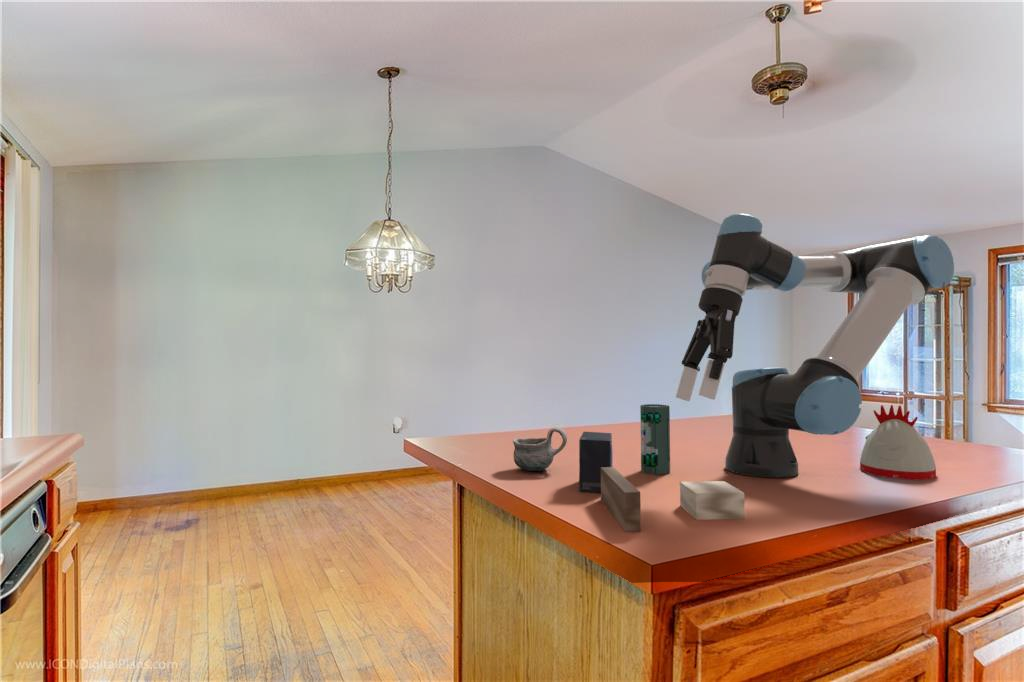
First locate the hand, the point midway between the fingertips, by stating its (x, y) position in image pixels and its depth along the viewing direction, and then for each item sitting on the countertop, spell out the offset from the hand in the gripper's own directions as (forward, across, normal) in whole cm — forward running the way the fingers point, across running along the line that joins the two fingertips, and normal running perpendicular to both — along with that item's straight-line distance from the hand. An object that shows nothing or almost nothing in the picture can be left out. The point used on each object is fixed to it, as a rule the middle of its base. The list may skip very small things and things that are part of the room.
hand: (693, 398), depth 104 cm
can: (+16, -24, +4) cm, 29 cm away
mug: (+24, -27, -21) cm, 42 cm away
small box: (+22, -12, -10) cm, 27 cm away
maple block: (+19, +6, +6) cm, 21 cm away
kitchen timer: (-1, -22, +54) cm, 58 cm away
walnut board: (+24, +7, -9) cm, 26 cm away
